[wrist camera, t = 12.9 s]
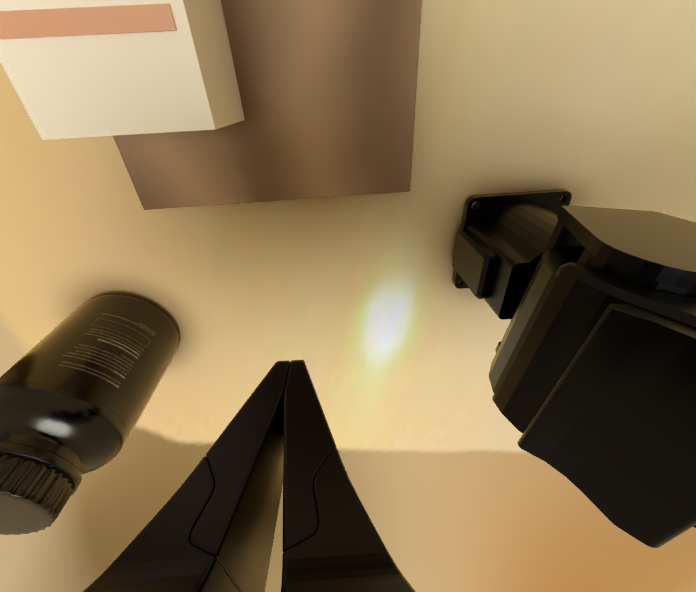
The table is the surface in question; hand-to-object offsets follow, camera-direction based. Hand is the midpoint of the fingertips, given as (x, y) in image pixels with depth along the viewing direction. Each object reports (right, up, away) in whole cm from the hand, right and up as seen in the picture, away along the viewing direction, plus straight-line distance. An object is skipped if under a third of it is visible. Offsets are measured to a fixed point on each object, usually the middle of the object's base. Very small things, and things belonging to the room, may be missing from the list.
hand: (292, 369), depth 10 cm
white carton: (-6, +13, +4) cm, 15 cm away
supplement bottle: (-14, 0, +13) cm, 20 cm away
